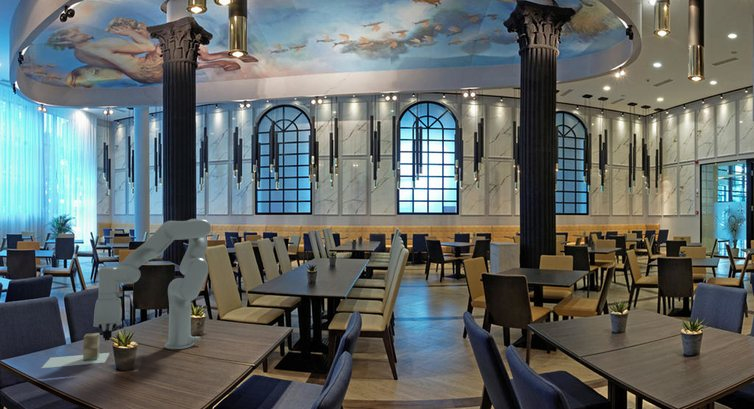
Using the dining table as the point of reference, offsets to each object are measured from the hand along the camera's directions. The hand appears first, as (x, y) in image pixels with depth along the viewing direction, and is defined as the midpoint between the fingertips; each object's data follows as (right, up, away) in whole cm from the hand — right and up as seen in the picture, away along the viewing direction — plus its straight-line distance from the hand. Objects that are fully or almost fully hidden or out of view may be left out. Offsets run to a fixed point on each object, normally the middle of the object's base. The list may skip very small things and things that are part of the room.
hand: (107, 339), depth 203 cm
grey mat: (-10, -8, -4) cm, 14 cm away
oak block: (-6, -7, -2) cm, 9 cm away
